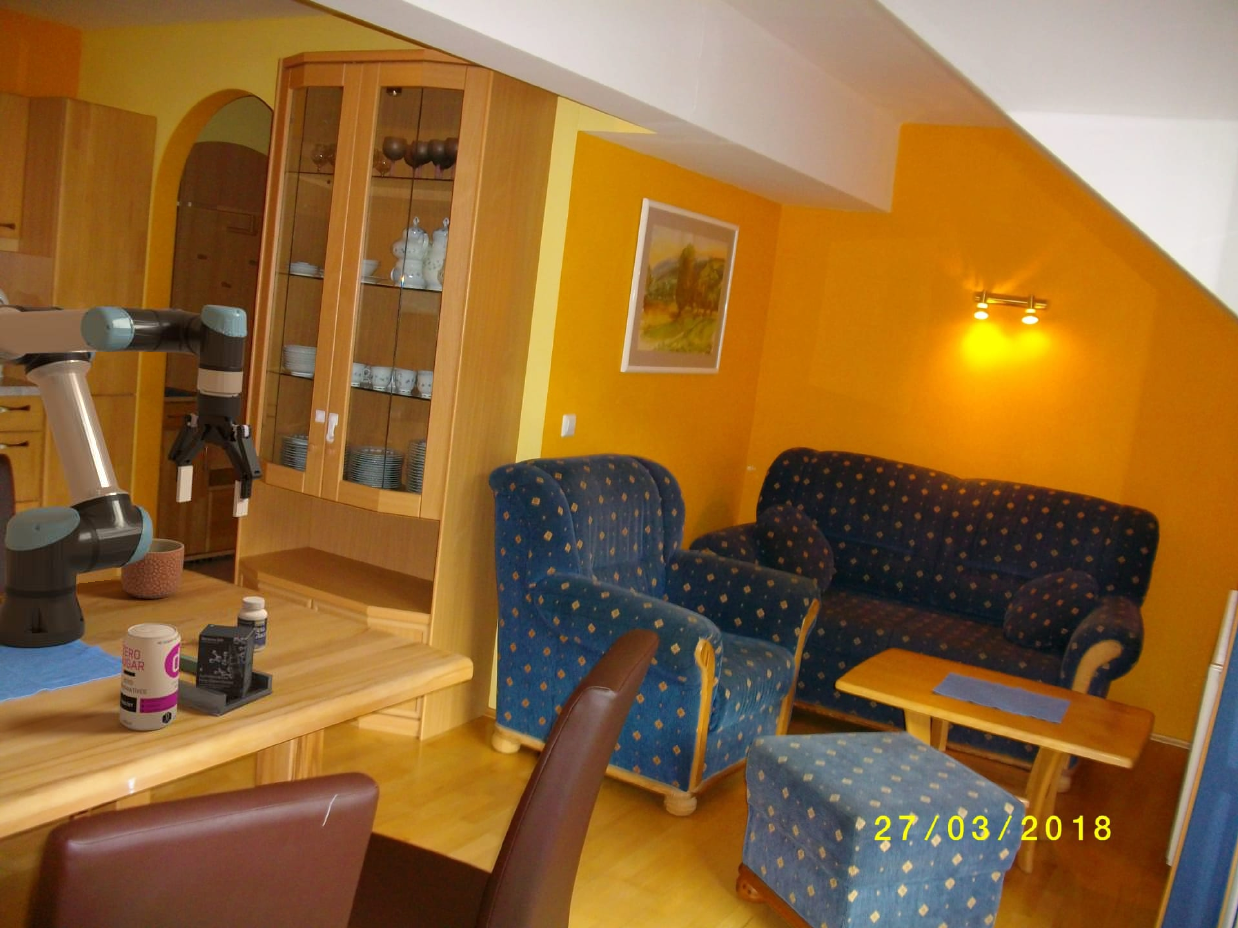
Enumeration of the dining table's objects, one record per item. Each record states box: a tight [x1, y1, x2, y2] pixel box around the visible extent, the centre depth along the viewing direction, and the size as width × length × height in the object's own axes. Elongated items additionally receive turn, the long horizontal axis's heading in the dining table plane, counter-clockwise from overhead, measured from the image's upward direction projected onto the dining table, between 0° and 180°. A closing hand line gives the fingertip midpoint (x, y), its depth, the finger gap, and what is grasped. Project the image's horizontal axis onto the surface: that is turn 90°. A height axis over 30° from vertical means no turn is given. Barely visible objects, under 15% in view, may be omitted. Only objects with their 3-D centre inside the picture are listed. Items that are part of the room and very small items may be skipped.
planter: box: [120, 538, 185, 600], centre depth 224 cm, size 12×12×11 cm
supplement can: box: [118, 622, 182, 732], centre depth 163 cm, size 8×8×15 cm
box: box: [195, 623, 255, 697], centre depth 175 cm, size 8×6×11 cm
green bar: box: [179, 652, 198, 674], centre depth 187 cm, size 14×2×2 cm, turn 68°
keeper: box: [177, 668, 274, 717], centre depth 176 cm, size 10×13×3 cm
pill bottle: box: [236, 596, 268, 653], centre depth 199 cm, size 5×5×10 cm
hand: (211, 508), depth 190 cm, fingers open, 13 cm apart
